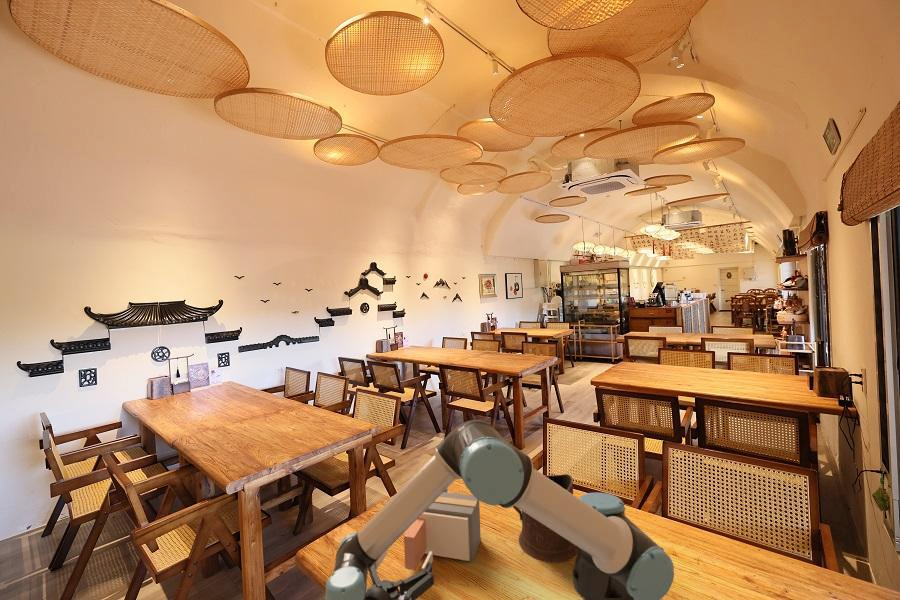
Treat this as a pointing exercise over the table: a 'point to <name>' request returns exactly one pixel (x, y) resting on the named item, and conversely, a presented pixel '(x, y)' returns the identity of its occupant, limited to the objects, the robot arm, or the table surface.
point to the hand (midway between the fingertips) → (408, 552)
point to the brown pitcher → (546, 533)
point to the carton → (461, 514)
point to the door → (436, 538)
